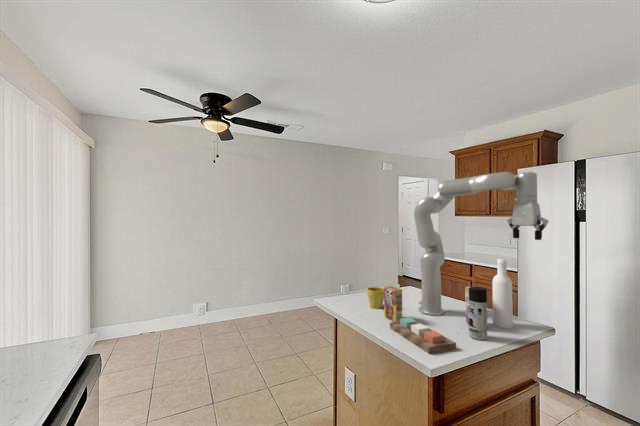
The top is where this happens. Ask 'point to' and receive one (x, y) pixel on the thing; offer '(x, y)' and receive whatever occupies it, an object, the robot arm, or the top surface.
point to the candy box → (393, 303)
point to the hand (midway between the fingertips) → (526, 238)
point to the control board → (421, 341)
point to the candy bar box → (467, 303)
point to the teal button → (407, 322)
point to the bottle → (502, 297)
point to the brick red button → (433, 337)
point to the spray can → (478, 313)
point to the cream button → (419, 329)
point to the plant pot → (375, 296)
